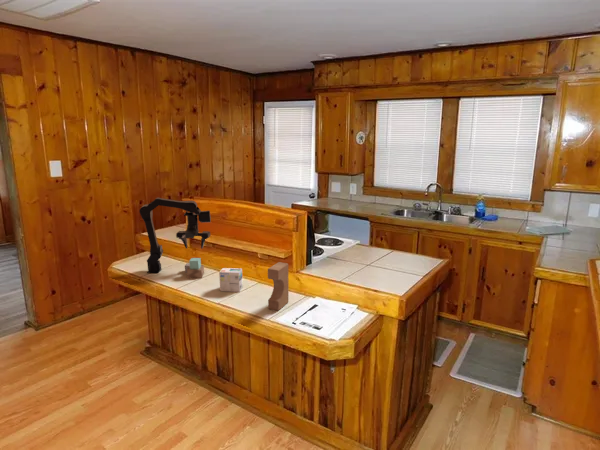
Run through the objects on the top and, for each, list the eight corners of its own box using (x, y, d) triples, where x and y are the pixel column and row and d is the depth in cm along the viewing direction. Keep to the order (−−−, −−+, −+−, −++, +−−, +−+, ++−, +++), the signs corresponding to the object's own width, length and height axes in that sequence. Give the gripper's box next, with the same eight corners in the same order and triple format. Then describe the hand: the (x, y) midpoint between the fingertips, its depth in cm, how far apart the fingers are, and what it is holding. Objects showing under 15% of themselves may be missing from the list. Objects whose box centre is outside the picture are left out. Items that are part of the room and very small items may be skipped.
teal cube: (189, 269, 226) (189, 260, 224) (192, 266, 230) (191, 257, 229) (198, 269, 225) (198, 260, 224) (201, 266, 230) (200, 258, 229)
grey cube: (185, 273, 233) (184, 265, 232) (187, 270, 237) (186, 263, 236) (192, 273, 233) (192, 265, 232) (194, 270, 238) (194, 263, 236)
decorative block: (278, 311, 185) (277, 270, 181) (267, 309, 188) (266, 268, 183) (289, 302, 195) (289, 263, 190) (278, 300, 198) (278, 261, 193)
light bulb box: (243, 287, 213) (242, 268, 210) (240, 292, 207) (239, 272, 204) (223, 286, 214) (222, 267, 211) (219, 291, 208) (218, 271, 205)
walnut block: (187, 278, 225) (186, 270, 224) (190, 273, 233) (189, 265, 231) (201, 278, 226) (201, 270, 224) (204, 273, 233) (203, 265, 232)
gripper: (171, 225, 225) (173, 252, 229) (204, 226, 224) (206, 253, 228) (178, 221, 236) (180, 246, 239) (210, 221, 235) (211, 247, 239)
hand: (194, 248), depth 236 cm, fingers open, 9 cm apart
